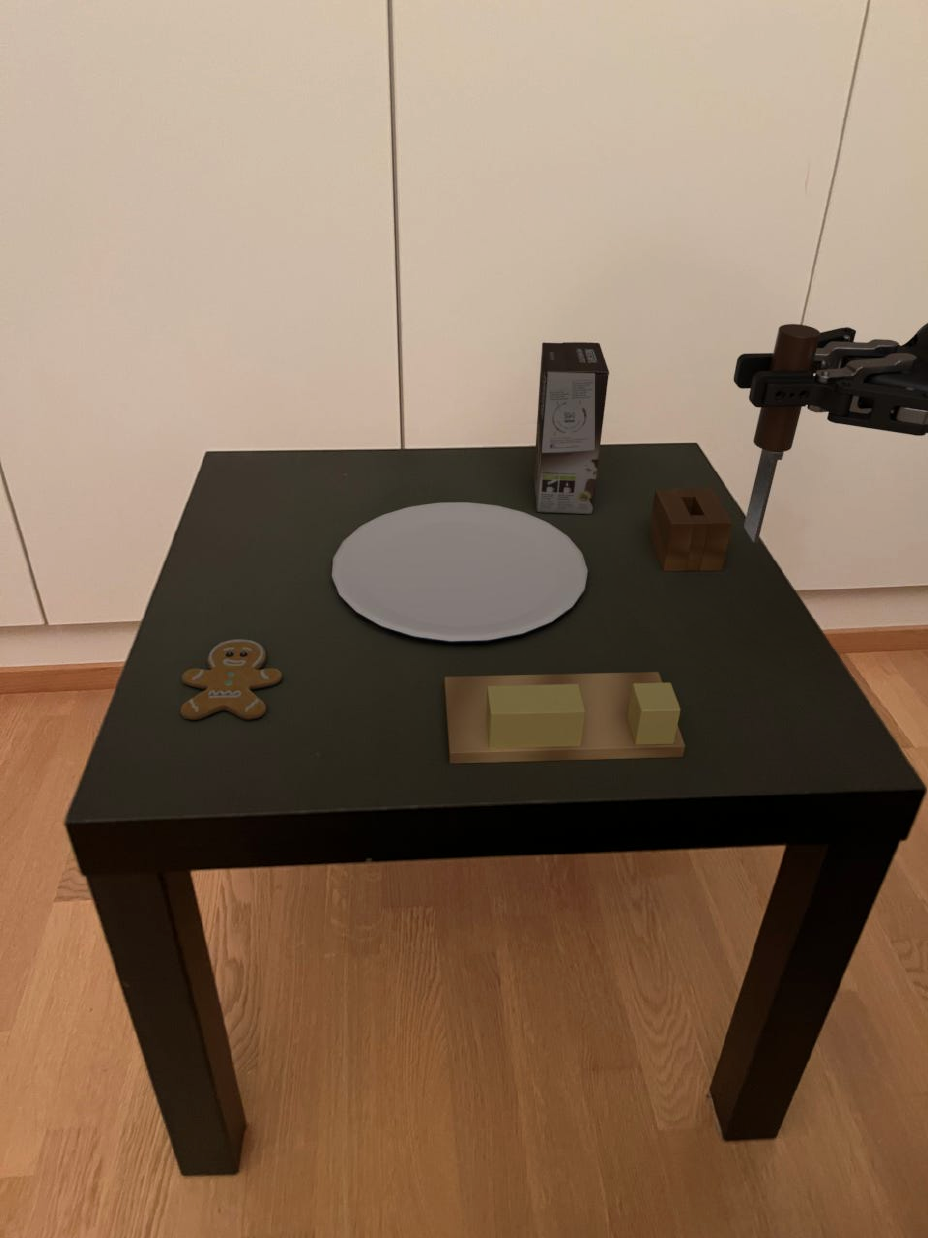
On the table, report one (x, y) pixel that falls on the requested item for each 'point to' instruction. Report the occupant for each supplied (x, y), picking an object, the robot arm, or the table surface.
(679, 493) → the knife block
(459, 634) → the plate
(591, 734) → the cutting board
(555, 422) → the coffee box
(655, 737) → the butter slice
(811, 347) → the knife
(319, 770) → the table surface
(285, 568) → the table surface
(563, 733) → the butter
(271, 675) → the cookie
